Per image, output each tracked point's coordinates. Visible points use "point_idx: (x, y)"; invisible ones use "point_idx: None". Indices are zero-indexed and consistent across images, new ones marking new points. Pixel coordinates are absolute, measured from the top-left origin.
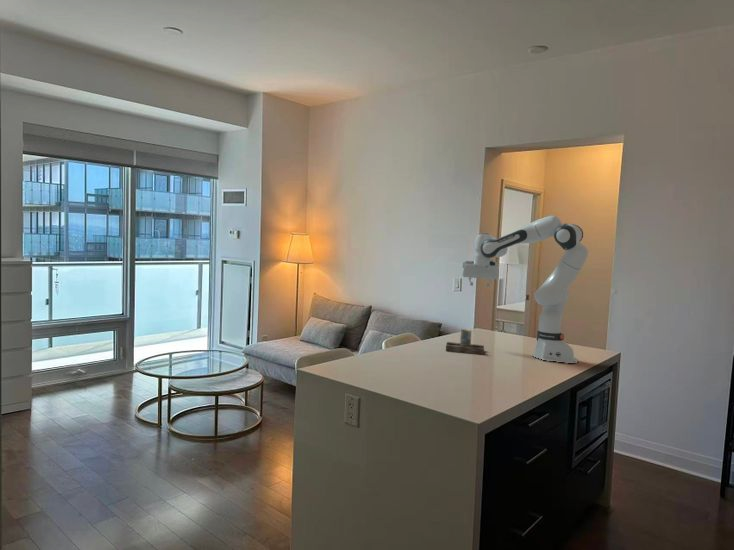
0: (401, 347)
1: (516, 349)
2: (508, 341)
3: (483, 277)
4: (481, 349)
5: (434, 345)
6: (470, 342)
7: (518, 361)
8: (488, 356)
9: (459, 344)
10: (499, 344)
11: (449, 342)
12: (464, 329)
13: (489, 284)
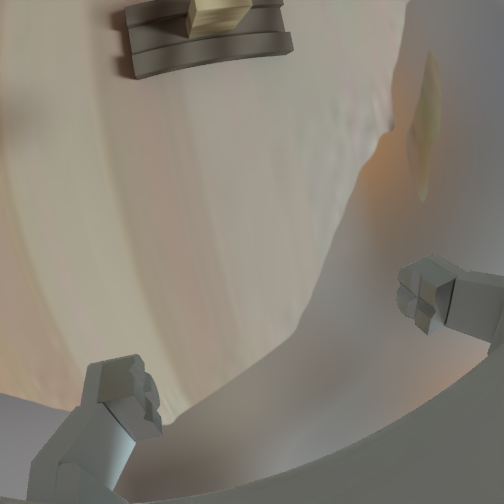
0: (397, 7)
1: (36, 213)
2: (108, 335)
3: (290, 495)
4: (135, 6)
5: (331, 72)
6: (188, 13)
7: (11, 20)
8: (108, 7)
9: (237, 35)
10: (112, 261)
11: (282, 45)
12: (234, 3)
13: (90, 391)
